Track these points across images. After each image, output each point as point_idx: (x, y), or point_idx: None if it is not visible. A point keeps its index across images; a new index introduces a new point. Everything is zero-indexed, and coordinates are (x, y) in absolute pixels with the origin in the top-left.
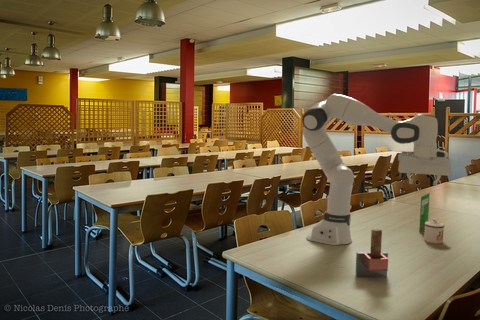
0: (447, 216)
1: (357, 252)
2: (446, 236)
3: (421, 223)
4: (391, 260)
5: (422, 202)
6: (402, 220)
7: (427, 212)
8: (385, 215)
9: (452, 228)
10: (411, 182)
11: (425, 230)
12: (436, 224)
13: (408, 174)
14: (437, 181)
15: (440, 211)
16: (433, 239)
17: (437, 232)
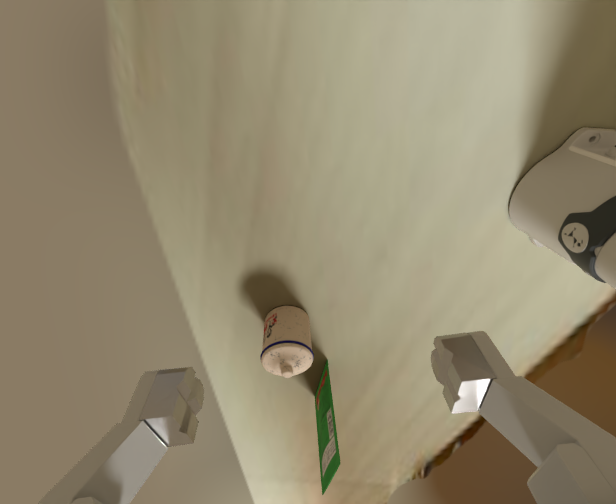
0: (288, 457)
1: None
2: None
3: (326, 386)
4: (380, 77)
5: (333, 446)
6: (370, 409)
7: (319, 430)
8: (407, 420)
9: (266, 409)
10: (461, 344)
11: (307, 335)
12: (279, 353)
13: (606, 469)
14: (119, 423)
15: (305, 472)
16: (284, 313)
17: (275, 331)
